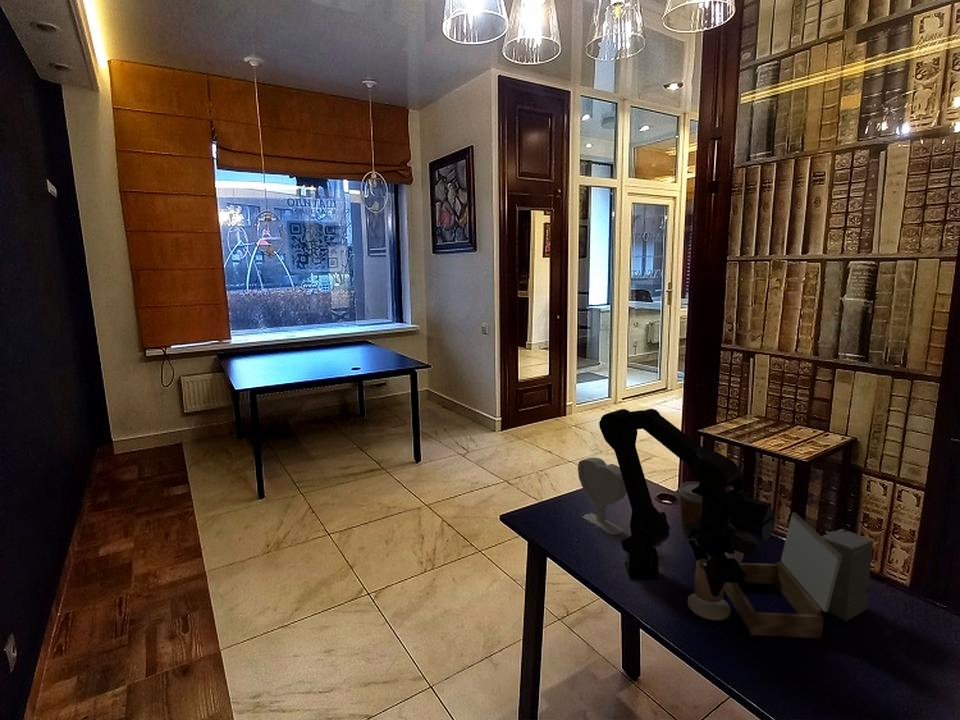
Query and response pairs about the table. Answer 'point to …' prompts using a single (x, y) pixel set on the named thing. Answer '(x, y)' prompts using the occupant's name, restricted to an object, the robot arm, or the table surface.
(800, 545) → the grey angled plate
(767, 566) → the open wooden box frame
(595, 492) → the heart sculpture
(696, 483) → the disposable coffee cup
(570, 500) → the table surface
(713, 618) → the cream round disc
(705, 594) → the clay pot
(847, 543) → the skincare box
